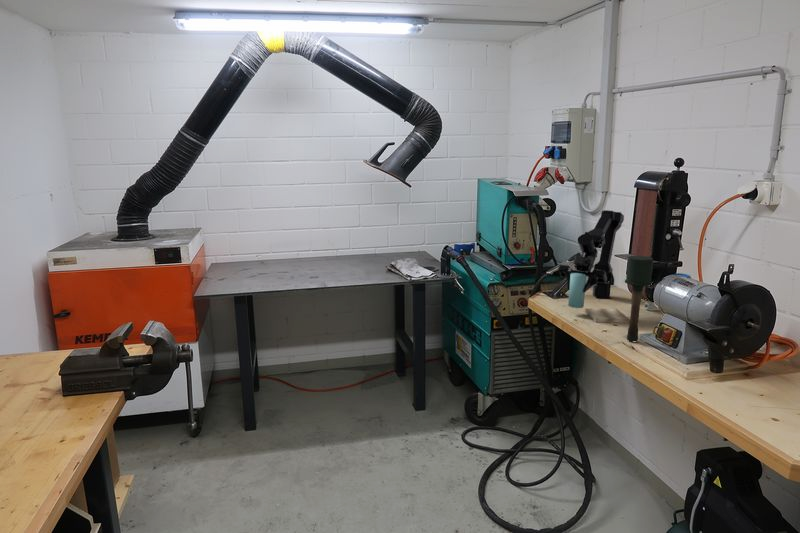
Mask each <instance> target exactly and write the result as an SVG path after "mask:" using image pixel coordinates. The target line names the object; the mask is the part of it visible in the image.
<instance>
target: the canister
mask: <svg viewBox="0 0 800 533" xmlns="http://www.w3.org/2000/svg"><path fill="white" fill-rule="evenodd" d="M586 282H587V276H586V275H585V274H581V273H572V274H570V288H569V290H568V304H567V306H568V307H569V308H573V309H574V308H575V309H582V308H584V307H585V306H584V305H585V297H586V296H585V294H586V292H585V293H584V292H583V290H584V287H585V285H586Z"/></svg>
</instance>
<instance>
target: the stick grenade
mask: <svg viewBox="0 0 800 533" xmlns="http://www.w3.org/2000/svg"><path fill="white" fill-rule="evenodd" d="M653 266H654V258H653V257H650V256H647V255H646V256H645V255H631V256H630V255H629V256H628V257H627V267H626V275H625V276H626V277H625V279H624V283H625V284H627V285H629V286H632V288H631V290H632V291H631V292H632V293H631V307H630V317H629V326H628V328H627V334H626V339H627V341H628V340H629V341H628V342H630V341H637V342H638V340H639V316H640V310H641V303H642V291H643V287H644V286H650V285H652V283H653V282H652V273H653Z"/></svg>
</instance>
